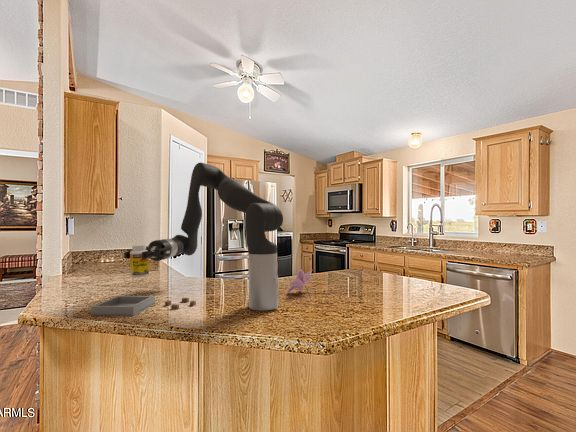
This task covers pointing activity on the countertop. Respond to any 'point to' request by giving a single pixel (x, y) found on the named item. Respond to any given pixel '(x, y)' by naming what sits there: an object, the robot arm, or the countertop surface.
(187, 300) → the set of brown cubes
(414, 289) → the countertop surface
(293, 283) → the lily
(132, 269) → the supplement bottle
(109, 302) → the tray
